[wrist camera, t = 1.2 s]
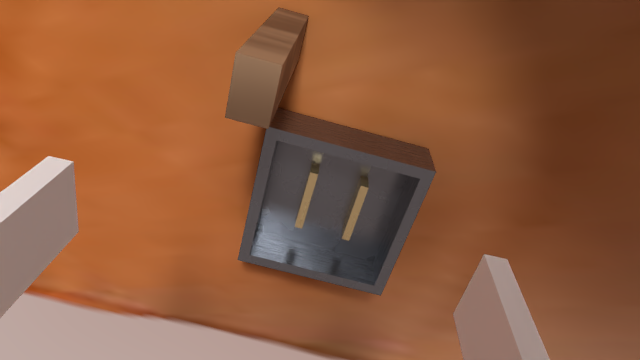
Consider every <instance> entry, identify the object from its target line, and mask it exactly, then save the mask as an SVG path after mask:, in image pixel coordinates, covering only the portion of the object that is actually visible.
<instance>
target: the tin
mask: <svg viewBox="0 0 640 360" xmlns="http://www.w3.org/2000/svg"><path fill="white" fill-rule="evenodd" d="M435 173H436V170H435V167H434V164H433V161H432V158H431V155H430V152H429V149H427V148H424V147H420V146H416V145H413V144H409V143H405V142H402V141H398V140H394V139H391V138H387V137H383V136H380V135H376V134H372V133H369V132H365V131H361V130H358V129H354V128H350V127H347V126H343V125H339V124H336V123H332V122H328V121H325V120H321V119H317V118H314V117H310V116H306V115H303V114H299V113H295V112H292V111H288V110H284V109H281V108H277V110H276V113H275V115H274V117H273V120H272V122H271V124H270V126H269V129H266V133H265V138H264V142H263V147H262V151H261V156H260V160H259V165H258V170H257V174H256V179H255V183H254V188H253V192H252V197H251V201H250V206H249V211H248V215H247V220H246V224H245V229H244V233H243V238H242V243H241V247H240V252H239V256H238V260H240V261H244V262H248V263H252V264H256V265H260V266H264V267H268V268H272V269H276V270H280V271H284V272H288V273H292V274H296V275H300V276H304V277H308V278H312V279H316V280H320V281H324V282H328V283H332V284H336V285H340V286H345V287H349V288H353V289H357V290H361V291H365V292H369V293H373V294H377V295H381V294H382V292H383V289H384V287H385V285H386V283H387V280H388V278H389V276H390V274H391V271H392V269H393V267H394V265H395V263H396V260H397V258H398V256H399V254H400V251H401V249H402V247H403V245H404V242H405V240H406V238H407V236H408V233H409V231H410V229H411V227H412V224H413V222H414V220H415V218H416V216H417V213H418V211H419V209H420V207H421V204H422V202H423V200H424V198H425V195H426V193H427V191H428V189H429V186H430V184H431V182H432V180H433V178H434V175H435Z"/></svg>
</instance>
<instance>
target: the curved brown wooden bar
mask: <svg viewBox="0 0 640 360" xmlns="http://www.w3.org/2000/svg"><path fill="white" fill-rule="evenodd" d="M308 17H309V16H307V15H303V14H300V13H297V12H293V11H290V10H286V9H283V8H278V9H277V10H276V11H275V12H274V13H273V14H272V15H271V16H270V17H269V18H268V19H267V20H266V21H265V22H264V23H263V25H262V26H261V27H260V28H259V29H258V30H257V31H256V32H255V33H254V34H253V35H252V36H251V37H250V38H249V39H248V40H247V41H246V42H245V43H244V44H243V45H242V47H241V48H240V49H239V50H238V51H237V52H236V55H235V60H234V66H233V72H232V78H231V84H230V90H229V96H228V102H227V108H226V114H225V118H229V119H232V120H236V121H240V122H244V123H247V124H251V125H255V126H258V127H262V128H266V129H269V126H270V124H271V122H272V120H273V117H274V115H275V113H276V110H277V108H278V106H279V103H280V101H281V99H282V97H283V94H284V92H285V90H286V87H287V85H288V83H289V80H290V78H291V76H292V73H293V71H294V69H295V67H296V64H297V62H298V59H299V55H300V51H301V46H302V42H303V38H304V34H305V29H306V25H307V21H308Z"/></svg>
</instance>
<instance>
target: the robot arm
mask: <svg viewBox="0 0 640 360" xmlns="http://www.w3.org/2000/svg"><path fill="white" fill-rule="evenodd" d="M78 232H79V231H78V217H77V203H76V190H75V176H74V163H73V161H68V160H64V159H60V158H55V157H51V156H48V157H47V158H45V159H44V160H43V161H41V162H40V163H39V164H37V165H36V166H35V167H33V168H32V169H31V170H29V171H28V172H27V173H25V174H24V175H23V176H22V177H20V178H19V179H18V180H16V181H15V182H14V183H12V184H11V185H10V186H8V187H7V188H6V189H4V190H3V191H2V192H0V318H1V317H2V316H3V314H4V313H5V312H6V311H7V310H8V309H9V308H10V307H11V306H12V304H13V303H14V302H15V301H16V300H17V299H18V298H19V297H20V296H21V295H22V294H23V292H24V291H25V290H26V289H27V288H28V287H29V286H30V285H31V284H32V283H33V281H34V280H35V279H36V278H37V277H38V276H39V275H40V274H41V273H42V272H43V270H44V269H45V268H46V267H47V266H48V265H49V264H50V263H51V262H52V260H53V259H54V258H55V257H56V256H57V255H58V254H59V253H60V252H61V251H62V249H63V248H64V247H65V246H66V245H67V244H68V243H69V242H70V241H71V240H72V238H73V237H74V236H75V235H76V234H77V233H78ZM453 316H454V320H455V324H456V329H457V333H458V338H459V342H460V346H461V351H462V355H463V359H464V360H550V359H549V357H548V354H547V352H546V349H545V347H544V345H543V342H542V340H541V338H540V335H539V333H538V331H537V328H536V326H535V323H534V321H533V319H532V316H531V314H530V312H529V309H528V307H527V305H526V302H525V300H524V298H523V295H522V293H521V290H520V288H519V286H518V283H517V281H516V279H515V276H514V274H513V272H512V269H511V267H510V265H509V262H508V260H507V259H504V258H500V257H495V256H491V255H486V254H484V255H483V257H482V259H481V261H480V263H479V265H478V267H477V269H476V271H475V273H474V274H473V276H472V278H471V280H470V282H469V284H468V286H467V288H466V290H465V292H464V294H463V296H462V298H461V300H460V302H459V303H458V305H457V307H456V309H455V311H454V313H453Z"/></svg>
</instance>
